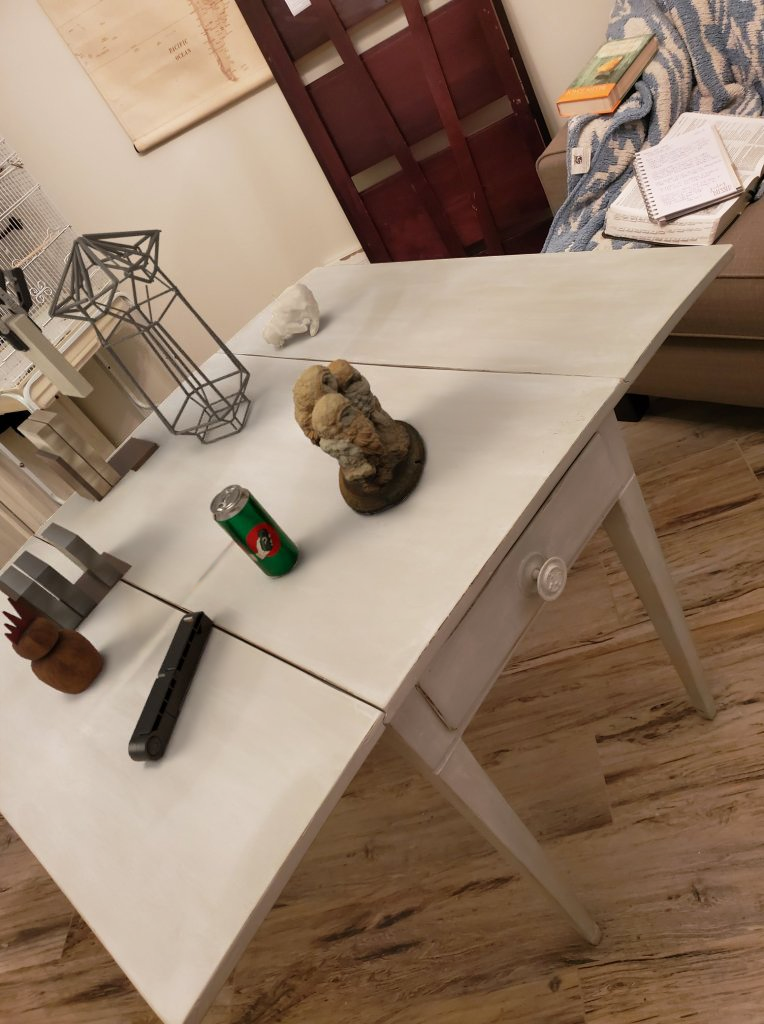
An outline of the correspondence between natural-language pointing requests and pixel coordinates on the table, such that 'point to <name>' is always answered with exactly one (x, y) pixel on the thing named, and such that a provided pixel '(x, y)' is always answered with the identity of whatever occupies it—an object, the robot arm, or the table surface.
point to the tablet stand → (169, 688)
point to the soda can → (254, 530)
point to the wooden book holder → (82, 455)
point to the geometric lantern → (80, 274)
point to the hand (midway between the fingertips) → (32, 344)
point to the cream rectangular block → (48, 357)
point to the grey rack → (63, 580)
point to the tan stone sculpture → (358, 436)
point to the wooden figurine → (53, 651)
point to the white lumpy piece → (292, 314)
